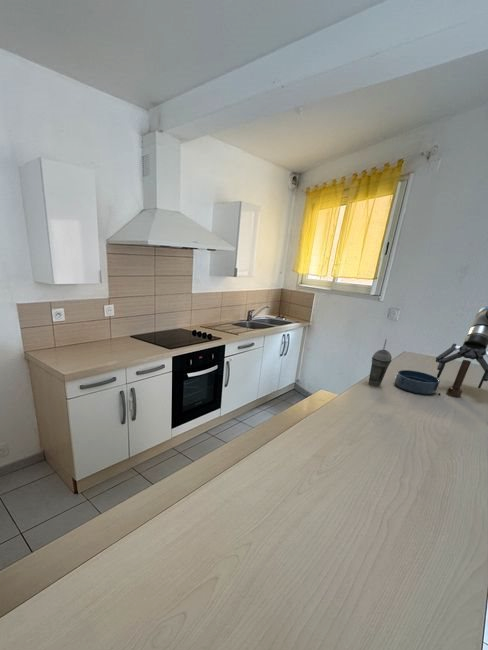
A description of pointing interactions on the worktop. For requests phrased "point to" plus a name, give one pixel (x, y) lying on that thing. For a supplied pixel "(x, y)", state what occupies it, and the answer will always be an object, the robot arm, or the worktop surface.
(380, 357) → the beverage cup
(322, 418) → the worktop surface
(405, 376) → the bowl
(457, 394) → the rusty bolt
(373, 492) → the worktop surface
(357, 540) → the worktop surface
